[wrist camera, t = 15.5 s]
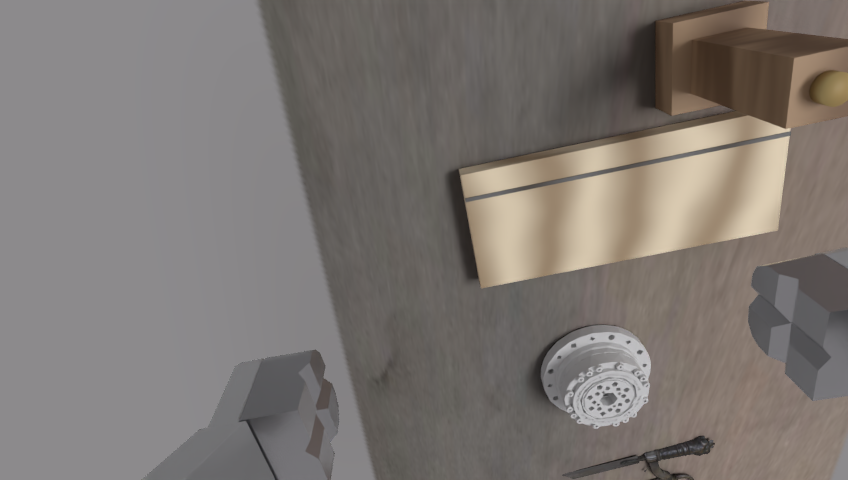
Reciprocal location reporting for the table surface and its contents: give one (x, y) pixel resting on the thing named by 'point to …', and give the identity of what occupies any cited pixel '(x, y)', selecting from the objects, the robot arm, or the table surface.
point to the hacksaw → (653, 459)
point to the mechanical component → (597, 375)
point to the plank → (625, 197)
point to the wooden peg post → (748, 67)
